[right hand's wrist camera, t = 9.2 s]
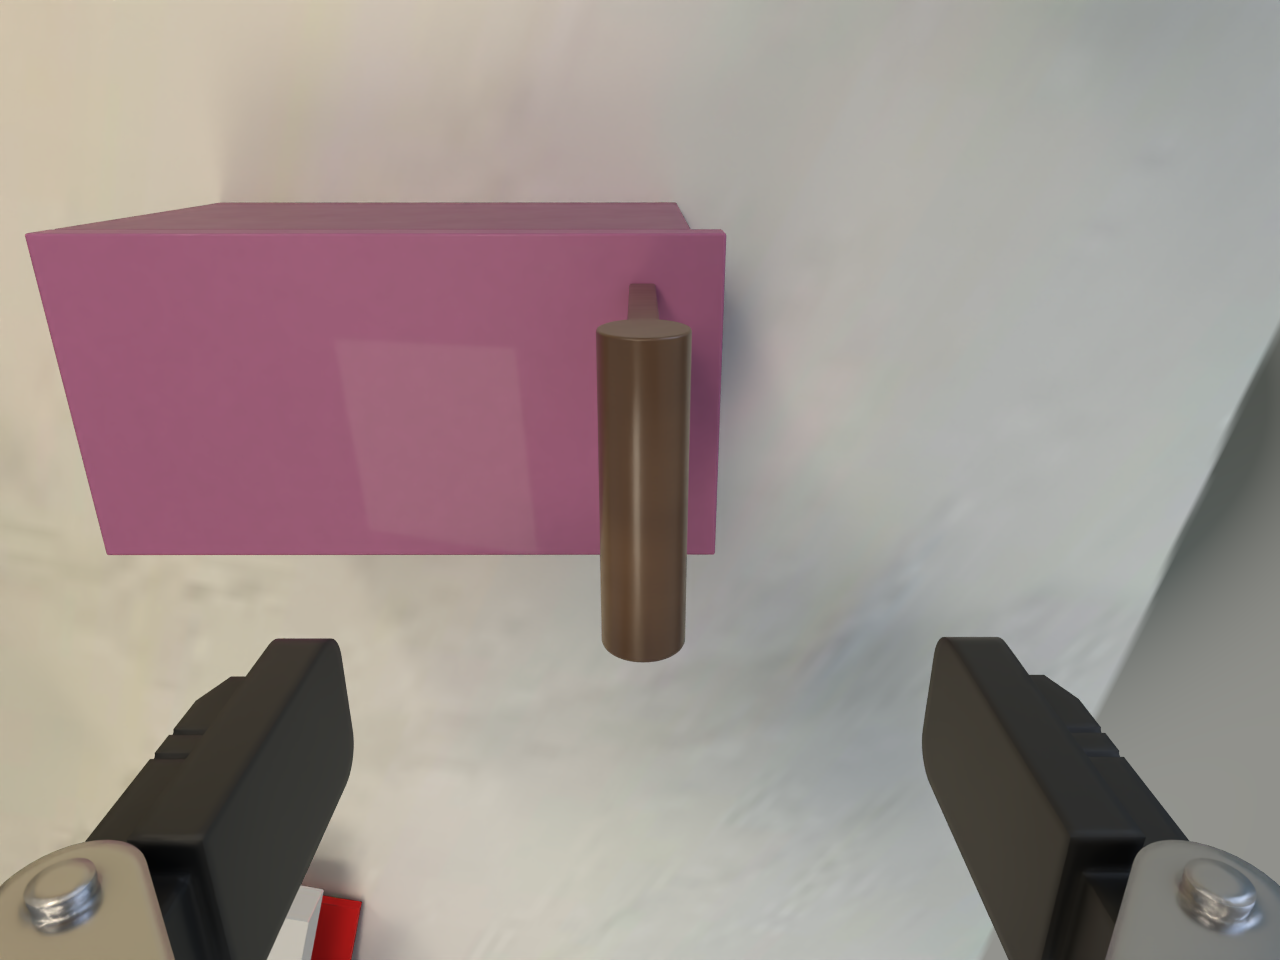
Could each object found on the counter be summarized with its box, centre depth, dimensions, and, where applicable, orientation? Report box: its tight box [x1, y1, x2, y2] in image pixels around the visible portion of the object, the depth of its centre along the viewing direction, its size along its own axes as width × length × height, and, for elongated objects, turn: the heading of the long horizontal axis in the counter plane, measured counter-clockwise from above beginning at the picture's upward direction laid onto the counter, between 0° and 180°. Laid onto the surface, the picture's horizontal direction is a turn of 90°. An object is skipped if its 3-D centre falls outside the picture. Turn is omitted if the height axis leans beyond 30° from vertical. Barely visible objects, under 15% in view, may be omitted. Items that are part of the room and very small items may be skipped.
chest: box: [55, 203, 690, 230], centre depth 30 cm, size 18×9×10 cm, turn 90°
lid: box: [25, 229, 726, 662], centre depth 21 cm, size 18×9×8 cm, turn 90°
